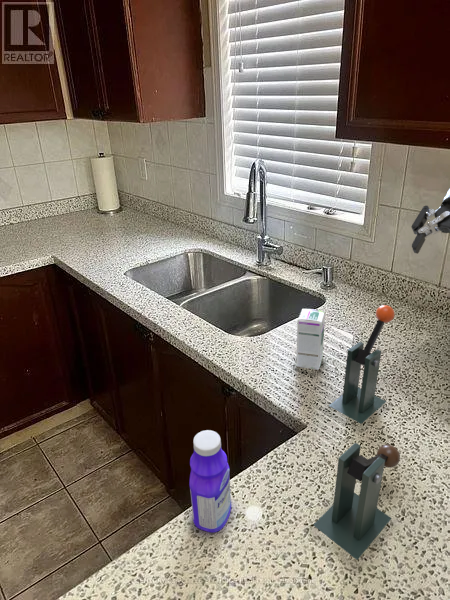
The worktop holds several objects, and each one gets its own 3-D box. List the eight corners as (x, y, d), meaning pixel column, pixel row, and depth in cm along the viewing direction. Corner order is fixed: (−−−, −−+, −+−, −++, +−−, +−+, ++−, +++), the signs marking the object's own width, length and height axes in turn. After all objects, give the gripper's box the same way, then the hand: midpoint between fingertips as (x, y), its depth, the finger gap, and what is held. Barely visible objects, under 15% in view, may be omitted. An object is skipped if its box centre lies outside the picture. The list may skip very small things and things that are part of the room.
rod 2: (379, 457, 76) (386, 438, 75) (399, 469, 73) (406, 450, 73) (341, 473, 66) (349, 452, 66) (363, 488, 64) (371, 465, 63)
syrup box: (319, 374, 108) (323, 321, 101) (294, 370, 109) (297, 318, 103) (322, 361, 113) (326, 310, 106) (299, 357, 114) (301, 307, 108)
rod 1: (383, 306, 94) (378, 300, 91) (399, 311, 91) (394, 306, 89) (356, 362, 93) (349, 358, 90) (371, 369, 91) (365, 365, 88)
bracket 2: (348, 493, 77) (356, 428, 70) (390, 523, 72) (404, 455, 65) (312, 530, 71) (318, 462, 64) (356, 565, 66) (367, 495, 59)
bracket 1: (353, 389, 102) (360, 333, 96) (385, 405, 97) (395, 348, 90) (327, 410, 96) (333, 352, 90) (360, 428, 91) (368, 368, 84)
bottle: (221, 542, 70) (216, 461, 62) (187, 532, 72) (179, 451, 64) (236, 504, 76) (233, 426, 68) (205, 495, 78) (199, 418, 70)
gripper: (432, 175, 95) (397, 239, 93) (505, 184, 86) (468, 256, 84) (438, 195, 101) (406, 256, 99) (508, 206, 91) (473, 274, 89)
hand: (435, 256), depth 91 cm, fingers open, 8 cm apart
